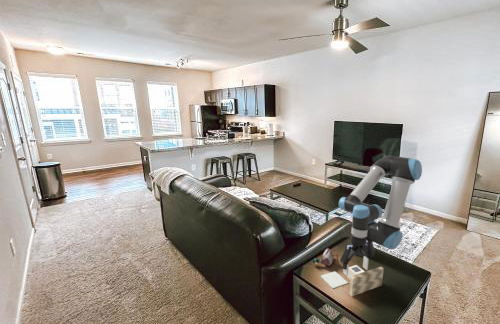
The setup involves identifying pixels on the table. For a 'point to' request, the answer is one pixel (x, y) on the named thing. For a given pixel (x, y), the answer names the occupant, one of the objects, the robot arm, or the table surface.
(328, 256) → the decorative duck model
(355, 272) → the cream cube
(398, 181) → the robot arm
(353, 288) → the birch screen
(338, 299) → the table surface
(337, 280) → the felt mat
